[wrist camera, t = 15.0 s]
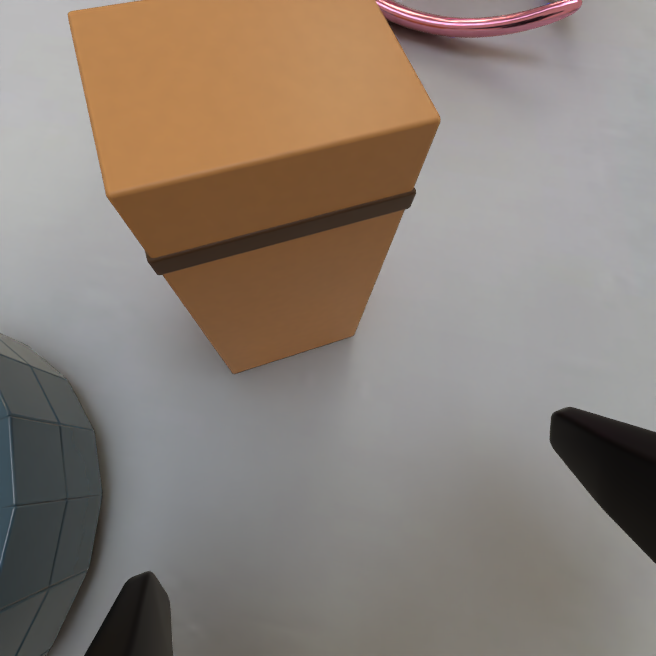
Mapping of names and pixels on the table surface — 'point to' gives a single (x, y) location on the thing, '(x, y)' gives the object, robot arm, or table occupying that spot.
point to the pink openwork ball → (477, 20)
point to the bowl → (42, 499)
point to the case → (257, 157)
